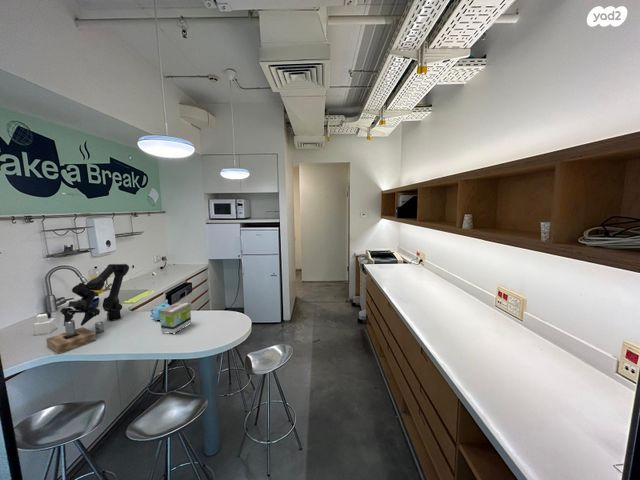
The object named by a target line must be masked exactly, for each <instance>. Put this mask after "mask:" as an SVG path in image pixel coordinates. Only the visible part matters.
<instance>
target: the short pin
mask: <svg viewBox="0 0 640 480" xmlns="http://www.w3.org/2000/svg"><path fill="white" fill-rule="evenodd" d="M104 325H105V324H104V321H98V322H95V323H94V326H95V335H96V334H99V335H100V334H103V333H105V326H104Z"/></svg>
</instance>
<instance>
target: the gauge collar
mask: <svg viewBox="0 0 640 480" xmlns="http://www.w3.org/2000/svg"><path fill="white" fill-rule="evenodd" d="M75 330H76V336H75V337H72V338H69V339H67V337H66V332H63V333H60V334H57V335H53V336H50V337H47V338H46V346H47V348H49V349H51V350H52V351H53V352H55V353H56V354H58V355H60V354H62V353H63V354H64V353H65V352H68V351H71V350H75V349H77V348H79V347H82V346H85V345H88V344H91V343H93V342H95V341H97V339H96V332H93V331H91V330H90V329H87V328H86V327H84V326H81V327H79V328H75Z"/></svg>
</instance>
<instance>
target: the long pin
mask: <svg viewBox="0 0 640 480" xmlns="http://www.w3.org/2000/svg"><path fill="white" fill-rule="evenodd" d="M75 323H76V321H75V320H74V319H71V320H70V321H66V322H65V326H64V330H65V333H66V337H67V339H69V338H72V337H75V336H76V330H75V329H76V325H75Z"/></svg>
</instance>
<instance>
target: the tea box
mask: <svg viewBox="0 0 640 480" xmlns="http://www.w3.org/2000/svg"><path fill="white" fill-rule="evenodd" d="M191 314H192V313H191V303H188V302H176V303H173V304H170V306H169V307H167V308H165V309H163V310H160V318H161V321H160V332H169V333H175V332H177V331H179V330H180V329H182V328H183V327H185V326H186V325H188V324H189V323H191V324H192V318H191V317H192V315H191ZM185 328H186V327H185ZM182 330H183V329H182ZM180 331H181V330H180ZM180 331H179V332H180ZM177 333H178V332H177Z"/></svg>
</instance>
